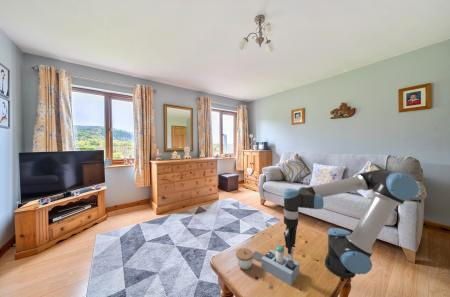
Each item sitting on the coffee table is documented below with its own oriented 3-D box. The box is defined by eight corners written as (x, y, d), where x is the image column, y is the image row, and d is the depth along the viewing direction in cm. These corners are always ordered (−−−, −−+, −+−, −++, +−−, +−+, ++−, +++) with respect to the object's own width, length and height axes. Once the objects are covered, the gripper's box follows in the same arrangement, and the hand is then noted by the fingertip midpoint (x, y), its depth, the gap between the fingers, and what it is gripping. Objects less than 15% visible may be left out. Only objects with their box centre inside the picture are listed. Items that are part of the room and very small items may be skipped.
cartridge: (285, 266, 97) (285, 247, 97) (282, 270, 93) (282, 251, 93) (278, 262, 100) (278, 244, 100) (274, 266, 97) (274, 247, 97)
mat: (264, 256, 109) (264, 255, 109) (259, 261, 104) (259, 260, 104) (255, 251, 114) (255, 251, 114) (250, 256, 109) (250, 255, 109)
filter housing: (271, 258, 107) (271, 249, 107) (299, 273, 95) (299, 262, 95) (261, 268, 99) (261, 258, 99) (290, 285, 86) (291, 274, 86)
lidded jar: (247, 275, 93) (247, 258, 93) (232, 266, 100) (232, 251, 100) (256, 264, 102) (256, 249, 101) (242, 257, 109) (242, 243, 108)
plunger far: (273, 260, 101) (273, 253, 101) (270, 262, 99) (270, 255, 99) (268, 257, 103) (269, 250, 103) (266, 260, 101) (266, 253, 101)
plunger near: (294, 269, 92) (294, 261, 92) (292, 272, 90) (292, 264, 90) (289, 266, 94) (289, 259, 94) (287, 269, 92) (287, 261, 92)
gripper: (289, 211, 99) (288, 250, 100) (279, 218, 90) (278, 260, 90) (302, 215, 94) (301, 256, 94) (293, 222, 85) (292, 268, 85)
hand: (290, 258), depth 92 cm, fingers closed
